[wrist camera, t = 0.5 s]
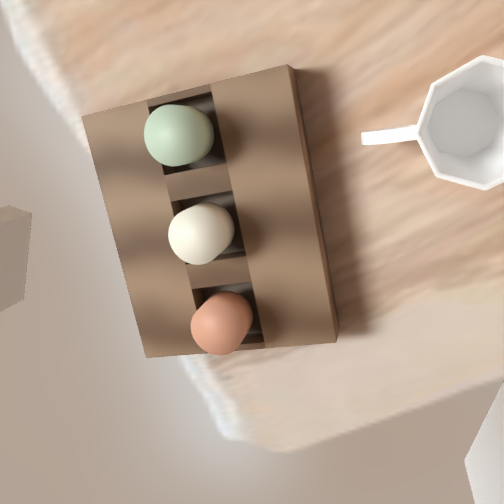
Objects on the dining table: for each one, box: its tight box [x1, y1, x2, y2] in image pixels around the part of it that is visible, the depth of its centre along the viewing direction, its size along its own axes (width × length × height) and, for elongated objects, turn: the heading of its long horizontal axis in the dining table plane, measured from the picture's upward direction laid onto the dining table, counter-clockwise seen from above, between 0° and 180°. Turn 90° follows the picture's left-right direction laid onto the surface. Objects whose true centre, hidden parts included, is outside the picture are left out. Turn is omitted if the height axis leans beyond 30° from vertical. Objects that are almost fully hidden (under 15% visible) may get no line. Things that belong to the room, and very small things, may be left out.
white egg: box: [168, 202, 235, 265], centre depth 35 cm, size 4×4×3 cm
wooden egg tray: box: [82, 64, 339, 358], centre depth 38 cm, size 20×16×3 cm
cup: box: [361, 55, 504, 191], centre depth 30 cm, size 7×10×8 cm
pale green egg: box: [144, 105, 214, 166], centre depth 34 cm, size 4×4×3 cm
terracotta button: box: [191, 290, 253, 355], centre depth 37 cm, size 4×4×3 cm
